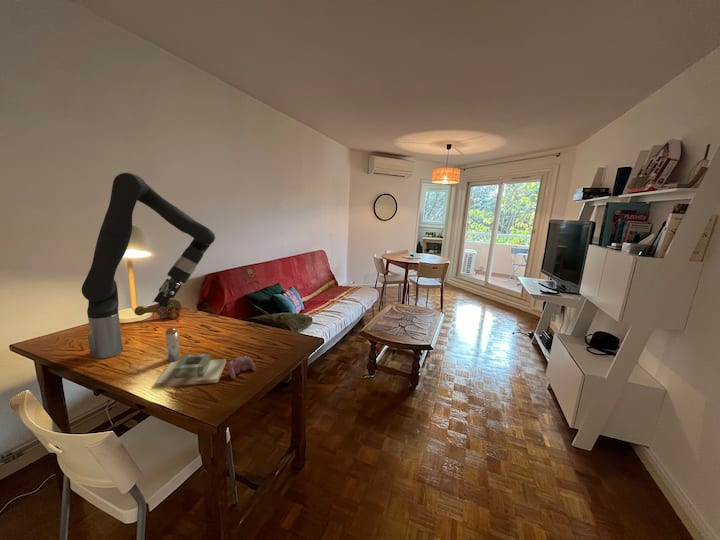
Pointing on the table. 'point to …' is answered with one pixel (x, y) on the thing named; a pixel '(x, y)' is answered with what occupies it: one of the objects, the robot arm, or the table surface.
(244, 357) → the video game controller
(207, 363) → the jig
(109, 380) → the table surface
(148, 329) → the table surface
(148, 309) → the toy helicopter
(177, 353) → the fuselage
